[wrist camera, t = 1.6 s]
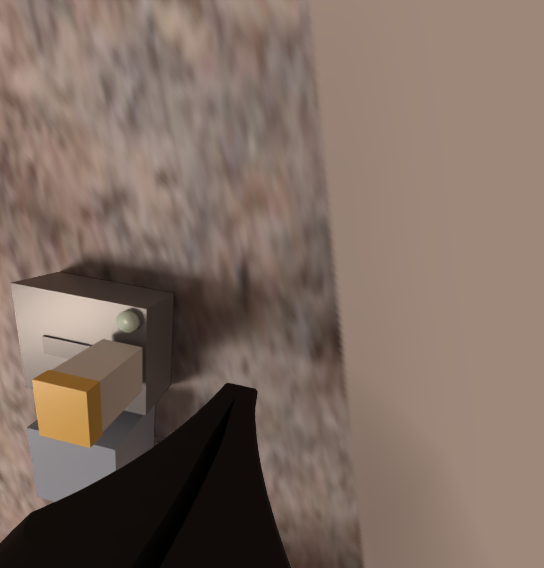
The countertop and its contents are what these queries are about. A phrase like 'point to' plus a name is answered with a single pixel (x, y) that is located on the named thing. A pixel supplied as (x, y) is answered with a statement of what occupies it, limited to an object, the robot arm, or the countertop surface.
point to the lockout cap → (88, 455)
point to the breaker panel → (94, 326)
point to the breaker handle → (87, 392)
